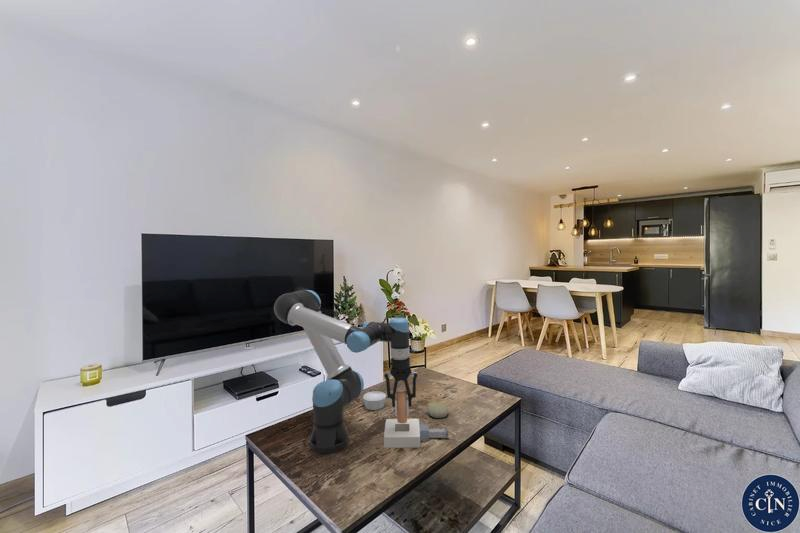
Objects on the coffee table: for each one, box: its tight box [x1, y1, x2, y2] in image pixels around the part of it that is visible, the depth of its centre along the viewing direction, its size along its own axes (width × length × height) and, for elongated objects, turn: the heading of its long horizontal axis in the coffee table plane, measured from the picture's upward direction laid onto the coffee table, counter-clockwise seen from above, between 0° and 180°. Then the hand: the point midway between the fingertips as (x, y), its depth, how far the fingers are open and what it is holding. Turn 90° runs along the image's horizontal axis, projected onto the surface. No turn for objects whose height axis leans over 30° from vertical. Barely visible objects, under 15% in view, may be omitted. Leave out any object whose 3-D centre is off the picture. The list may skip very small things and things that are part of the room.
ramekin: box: [362, 390, 387, 411], centre depth 166 cm, size 11×11×5 cm
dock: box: [383, 418, 421, 449], centre depth 138 cm, size 14×14×4 cm
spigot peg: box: [396, 389, 408, 423], centre depth 137 cm, size 4×4×12 cm
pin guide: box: [419, 423, 430, 442], centre depth 138 cm, size 4×5×4 cm
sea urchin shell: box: [427, 402, 449, 419], centre depth 156 cm, size 9×8×8 cm
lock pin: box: [429, 426, 449, 439], centre depth 137 cm, size 10×3×3 cm, turn 88°
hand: (402, 414), depth 137 cm, fingers closed on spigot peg, 4 cm apart
